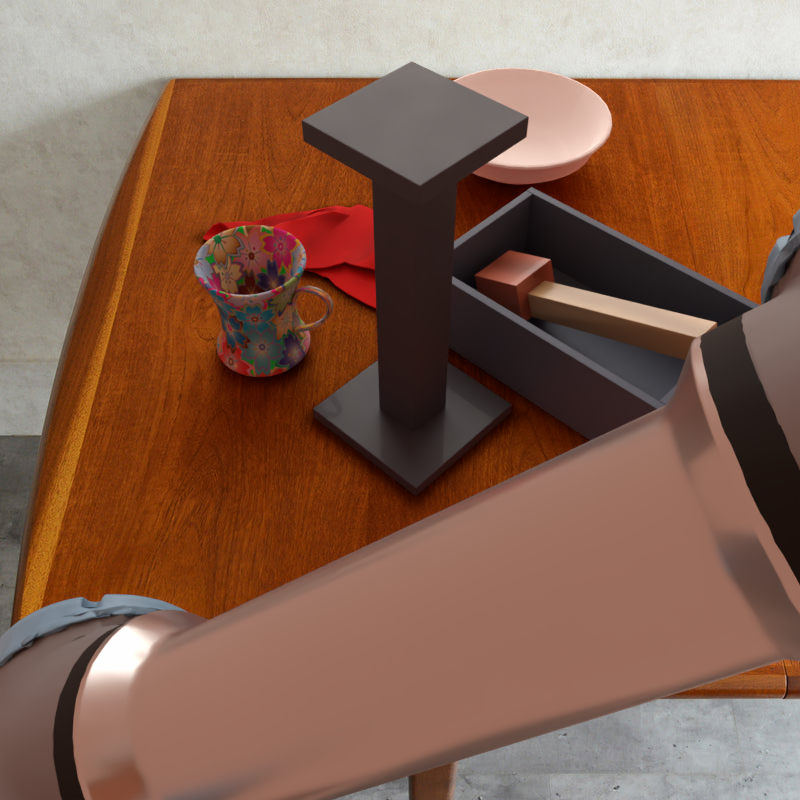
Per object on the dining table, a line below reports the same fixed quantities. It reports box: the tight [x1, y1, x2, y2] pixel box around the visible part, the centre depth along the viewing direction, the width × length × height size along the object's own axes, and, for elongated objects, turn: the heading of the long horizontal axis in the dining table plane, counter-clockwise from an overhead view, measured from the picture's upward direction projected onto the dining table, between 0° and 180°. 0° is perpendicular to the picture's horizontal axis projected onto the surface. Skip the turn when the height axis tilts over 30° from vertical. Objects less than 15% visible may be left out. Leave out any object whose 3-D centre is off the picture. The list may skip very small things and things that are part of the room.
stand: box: [301, 61, 529, 497], centre depth 66 cm, size 12×12×28 cm
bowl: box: [453, 67, 613, 186], centre depth 99 cm, size 20×20×6 cm
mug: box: [193, 225, 334, 378], centre depth 78 cm, size 12×9×11 cm
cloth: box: [202, 203, 376, 310], centre depth 91 cm, size 26×14×2 cm, turn 63°
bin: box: [449, 186, 761, 441], centre depth 79 cm, size 16×25×8 cm, turn 46°
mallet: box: [475, 250, 717, 360], centre depth 76 cm, size 5×22×4 cm, turn 46°
